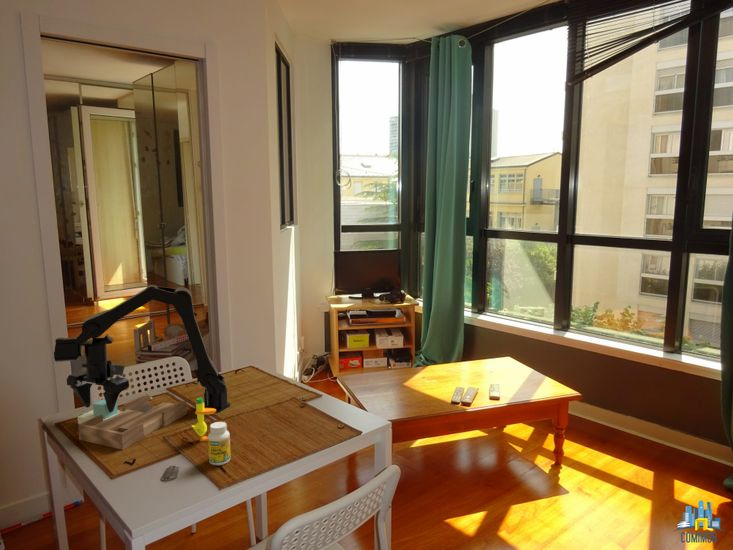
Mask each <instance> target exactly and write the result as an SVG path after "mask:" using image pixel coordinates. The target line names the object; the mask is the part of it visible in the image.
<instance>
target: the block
mask: <svg viewBox="0 0 733 550" xmlns="http://www.w3.org/2000/svg"><path fill="white" fill-rule="evenodd" d="M92 407H93V408H92V410H93V413H94V417H97V416H99V415H103V419H106V418H108V417H111V416H113V415H115V414H117V413H118V410H119V409H118V400H117V401H116V404H115V407H114V410H113V412H109V410H108V407H107V404H106V401H105V398H103V399H100V400H98V401H96V402H93V403H92Z"/></svg>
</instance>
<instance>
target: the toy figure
mask: <svg viewBox="0 0 733 550" xmlns="http://www.w3.org/2000/svg"><path fill="white" fill-rule="evenodd" d="M195 405H196V406H195V407H196V408H195V409H196V410H195V412H194V414H195V415H196V417H197V423H196V424H195V425H191V427H192V429H193V430H194V431H195V433H196V434H197V435H198V437H200V439H199V442H208V436H206V435H205V434H206V433H207V431H208V425H207V423H206V422H205V415H206V416H207V415H214V414H215V413H217V412H216V409H214V408H204V406H205V405H204V400H203V397H198V398H196V402H195Z"/></svg>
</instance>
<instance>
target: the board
mask: <svg viewBox="0 0 733 550" xmlns="http://www.w3.org/2000/svg"><path fill="white" fill-rule="evenodd" d="M117 410H118V413H117V414H119V413H121V412H123V410H119V409H117ZM117 414H115V415H117ZM115 415H113V416H115ZM113 416H111V417H113ZM111 417H108V418H106V419H109V418H111ZM92 418H94V413H93V409H91V410H89V411H87V412H85V413H83V414H80V415H78V416H77V424H78V425H79V424H81V423H83V422H86V421H88V420H90V419H92ZM106 419H103V421H104V420H106Z"/></svg>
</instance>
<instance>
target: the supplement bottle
mask: <svg viewBox="0 0 733 550" xmlns="http://www.w3.org/2000/svg"><path fill="white" fill-rule="evenodd" d="M209 430H210V432H209V433H208V436H207V437H208V439H207V446H208V448H207V450H208V462H209V463H210V465H213V466H222V465H225V464H227V463H229V462H230V460H231V458H232V457H231V455H232V454H231V437H230V435H231V434H230V431H229V430H228V425H227V423H226V422H225V421H216V422H213V423H211V424H210V425H209Z"/></svg>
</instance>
